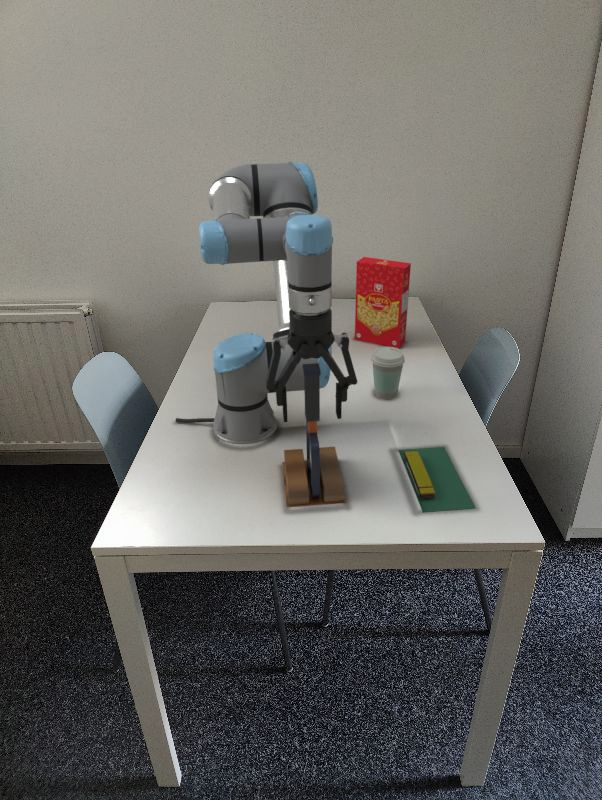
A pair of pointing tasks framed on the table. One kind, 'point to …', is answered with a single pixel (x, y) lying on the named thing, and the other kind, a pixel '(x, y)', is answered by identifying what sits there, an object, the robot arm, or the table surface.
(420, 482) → the harmonica
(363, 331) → the food packaging
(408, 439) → the table surface
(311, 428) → the racket
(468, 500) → the mat
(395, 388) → the coffee cup
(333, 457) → the stand
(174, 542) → the table surface
